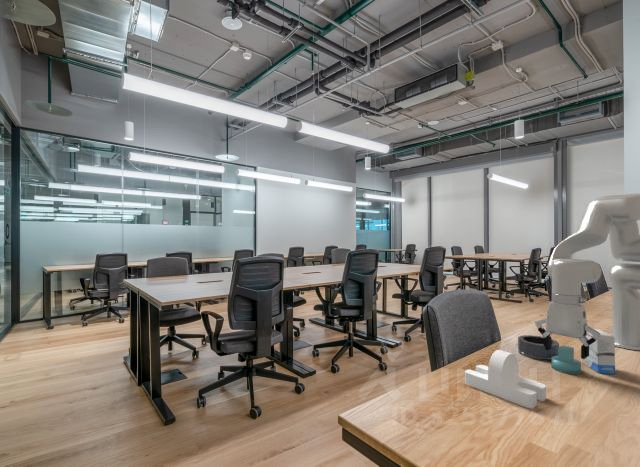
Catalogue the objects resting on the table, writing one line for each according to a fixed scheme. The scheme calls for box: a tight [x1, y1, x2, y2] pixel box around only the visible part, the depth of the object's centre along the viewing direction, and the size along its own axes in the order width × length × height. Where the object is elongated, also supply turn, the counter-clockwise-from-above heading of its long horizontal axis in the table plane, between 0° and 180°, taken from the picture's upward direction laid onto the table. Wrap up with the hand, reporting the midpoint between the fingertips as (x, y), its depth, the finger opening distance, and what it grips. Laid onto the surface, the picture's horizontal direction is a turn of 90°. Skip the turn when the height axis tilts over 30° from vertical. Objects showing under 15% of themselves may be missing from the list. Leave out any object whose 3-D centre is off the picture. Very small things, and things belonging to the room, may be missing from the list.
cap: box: [551, 345, 582, 375], centre depth 109 cm, size 8×8×7 cm
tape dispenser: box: [464, 349, 547, 409], centre depth 94 cm, size 10×18×11 cm, turn 36°
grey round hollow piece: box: [517, 334, 560, 362], centre depth 122 cm, size 12×12×5 cm
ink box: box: [583, 328, 616, 375], centre depth 109 cm, size 9×5×12 cm, turn 168°
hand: (565, 353), depth 109 cm, fingers open, 9 cm apart
